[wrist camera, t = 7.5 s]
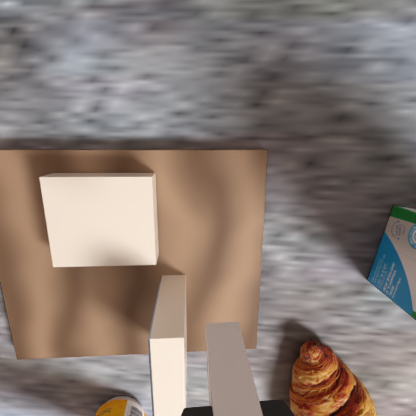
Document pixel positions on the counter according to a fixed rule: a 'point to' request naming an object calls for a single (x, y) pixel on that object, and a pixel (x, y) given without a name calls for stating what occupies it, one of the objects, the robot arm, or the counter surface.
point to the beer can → (121, 407)
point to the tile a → (101, 218)
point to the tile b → (169, 347)
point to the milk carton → (397, 260)
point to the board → (134, 274)
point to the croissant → (326, 385)
